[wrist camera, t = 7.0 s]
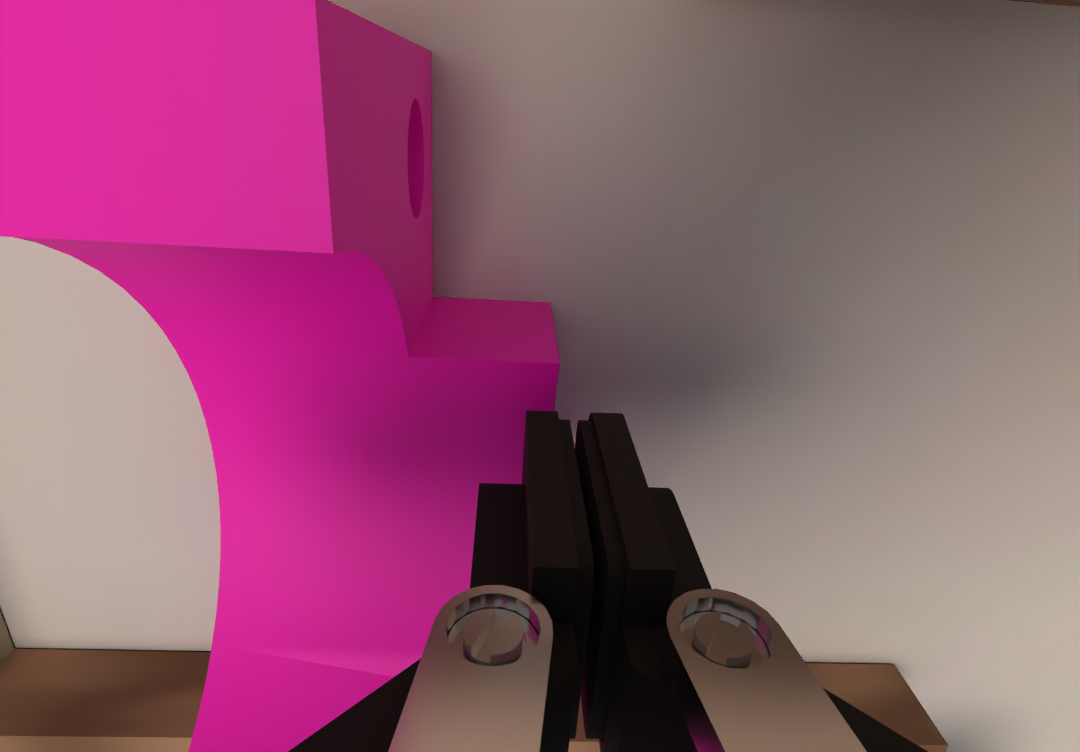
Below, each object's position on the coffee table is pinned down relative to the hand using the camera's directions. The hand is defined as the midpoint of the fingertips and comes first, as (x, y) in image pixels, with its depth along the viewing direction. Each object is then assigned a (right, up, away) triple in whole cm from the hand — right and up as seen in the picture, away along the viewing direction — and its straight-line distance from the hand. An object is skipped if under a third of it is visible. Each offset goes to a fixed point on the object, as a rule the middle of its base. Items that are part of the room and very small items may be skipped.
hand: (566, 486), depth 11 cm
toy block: (-4, +1, +4) cm, 5 cm away
